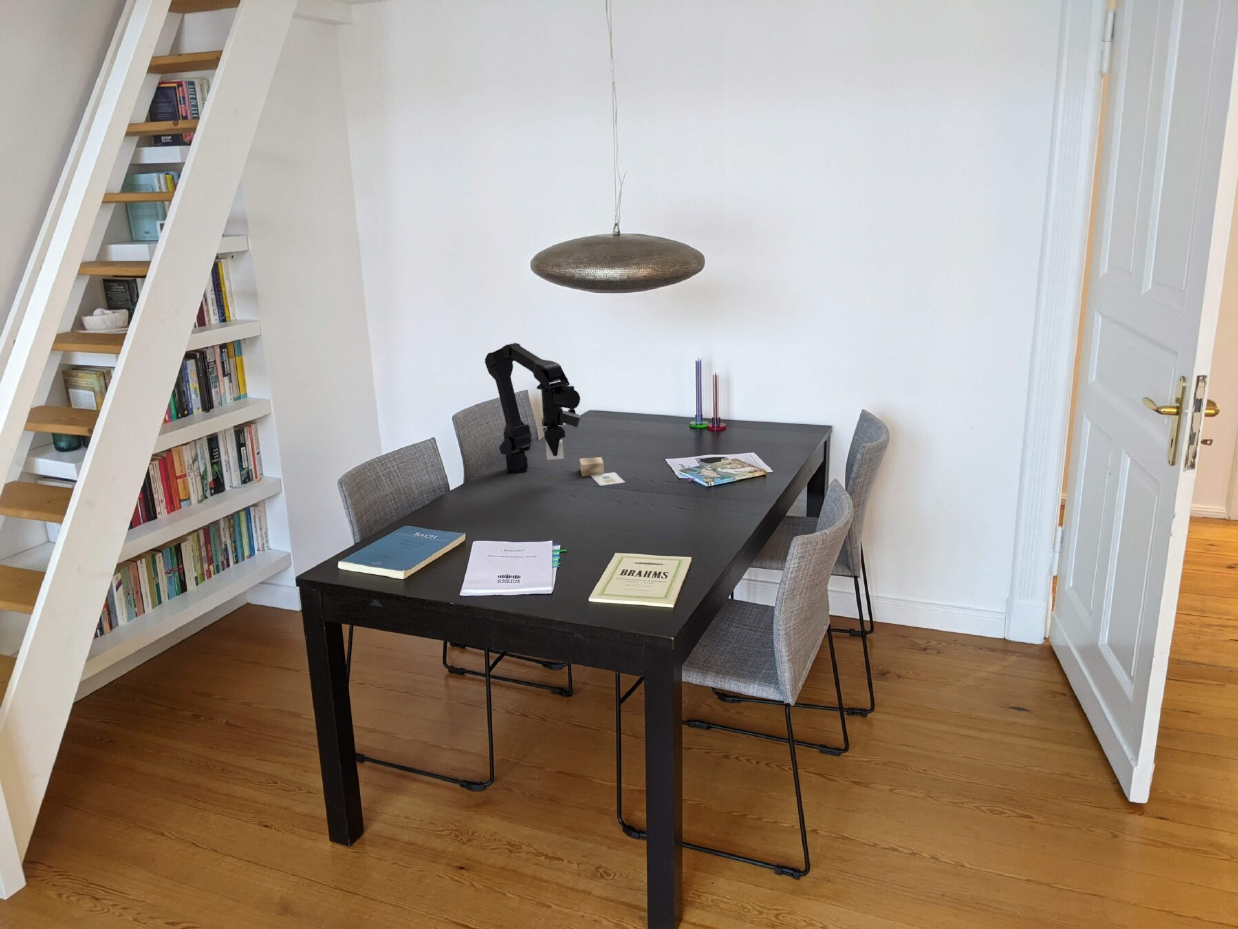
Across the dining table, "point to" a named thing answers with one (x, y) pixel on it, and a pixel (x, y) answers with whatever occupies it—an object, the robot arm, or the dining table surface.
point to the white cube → (560, 451)
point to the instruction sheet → (607, 479)
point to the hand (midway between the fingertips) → (554, 453)
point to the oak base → (591, 466)
